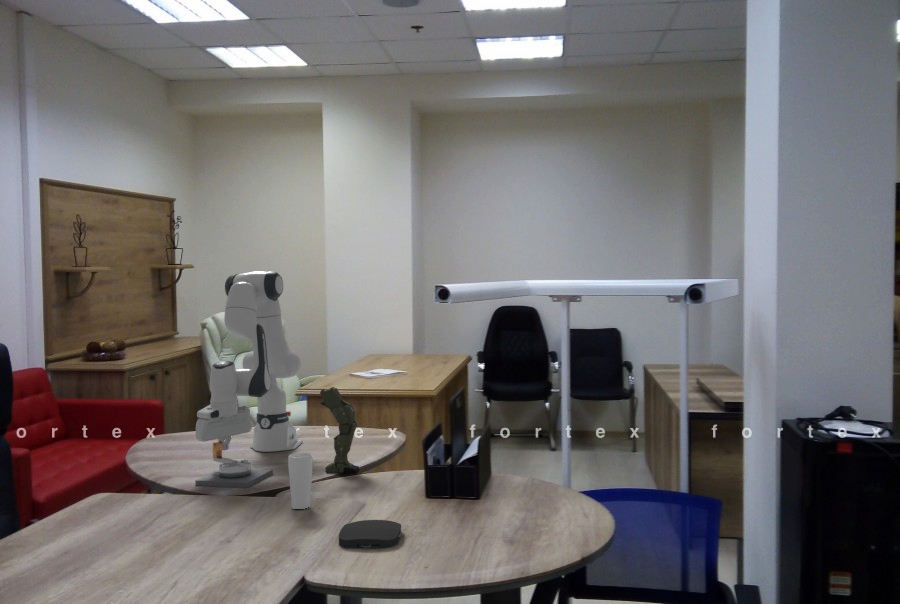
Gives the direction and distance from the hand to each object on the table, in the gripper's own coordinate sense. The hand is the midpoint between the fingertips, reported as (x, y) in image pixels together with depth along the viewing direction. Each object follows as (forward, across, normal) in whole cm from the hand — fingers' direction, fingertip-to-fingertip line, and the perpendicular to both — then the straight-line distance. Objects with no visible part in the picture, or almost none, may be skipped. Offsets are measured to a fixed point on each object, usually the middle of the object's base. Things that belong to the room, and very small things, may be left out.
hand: (224, 449), depth 248 cm
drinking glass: (+7, +12, +53) cm, 55 cm away
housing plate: (+8, +3, +10) cm, 13 cm away
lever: (+6, +3, +7) cm, 10 cm away
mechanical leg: (+8, -25, +30) cm, 40 cm away
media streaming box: (+7, +20, +87) cm, 89 cm away
